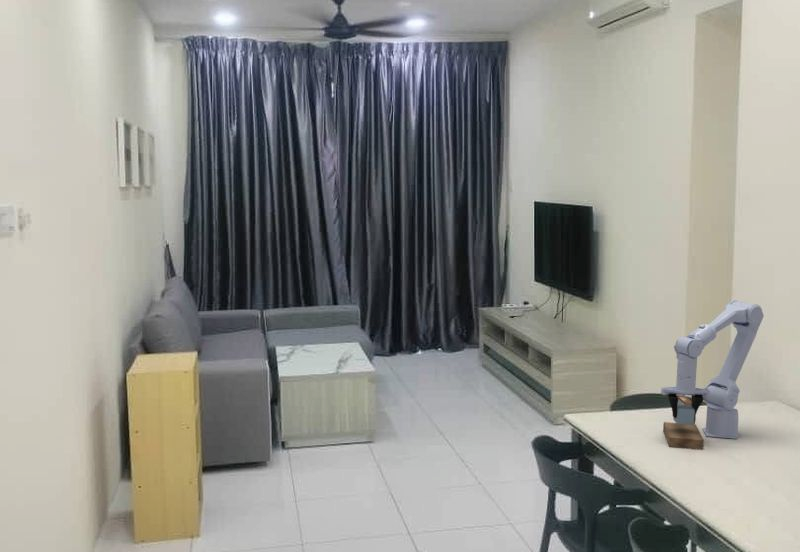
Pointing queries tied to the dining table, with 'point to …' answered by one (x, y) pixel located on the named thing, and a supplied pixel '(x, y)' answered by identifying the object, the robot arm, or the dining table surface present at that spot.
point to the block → (685, 415)
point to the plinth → (683, 436)
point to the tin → (684, 402)
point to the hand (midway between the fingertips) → (683, 417)
